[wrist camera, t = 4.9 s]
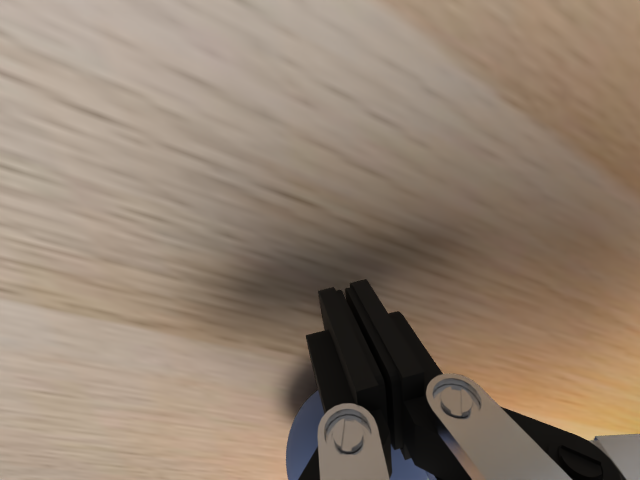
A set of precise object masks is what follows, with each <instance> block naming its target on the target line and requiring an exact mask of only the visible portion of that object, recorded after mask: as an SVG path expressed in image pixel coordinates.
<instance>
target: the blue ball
mask: <svg viewBox="0 0 640 480" xmlns="http://www.w3.org/2000/svg"><path fill="white" fill-rule="evenodd" d="M323 416H324V411H323V407H322V403H321V399H320V395H319V391H318V390H317V391H316V392H315V393H314V394H312V395H311V396H310V397H309V398H308V399H307V400H306V401H305V403H304V404H303V405H302V407H301V408H300V410H299V412H298V413H297V415H296V417H295V419H294V421H293V424H292V426H291V429H290V433H289V437H288V442H287V450H286V468H287V475H288V480H298V479H299V477H300V475H301V474H302V472H303V470H304V469H305V467H306V465H307V464H308V462H309V460H310V458H311V457H312V455H313V453H314V452H315V450H316V448H317V447H318V437H317V435H318V426H319V423H320V421H321V419H322V417H323ZM391 458H392V475H391V477H390V480H427V478H428V476H427V474H426V472H425V470H423V469H421V468H419V467H417V466H415V465H414V462H413V460H412V458H410V459H407V460H405V459H404V457H403V455H402V452H401V450H400V449H397V450H394V449H393V447H392V445H391Z"/></svg>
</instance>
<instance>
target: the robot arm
mask: <svg viewBox="0 0 640 480" xmlns="http://www.w3.org/2000/svg"><path fill="white" fill-rule="evenodd" d="M345 293H346V299H345V296H344V294H343V292H342V290H338V291H336V290H335V288H334V287H332V288H328V289H324V290H320V291H318V294H319V300H320V306H321V312H322V318H323V324H324V330H325V331H321V332H317V333H313V334H310V335H306V339H307V344H308V349H309V354H310V358H311V362H312V367H313V371H314V375H315V379H316V383H317V387H318V391H319V395H320V399H321V403H322V407H323V411H324V416H323V417H322V419H321V421H320V423H319V426H318V435H317V437H318V447H317V448H316V450H315V452H314V453H313V455H312V457H311V458H310V460H309V462H308V464H307V465H306V467H305V469H304V470H303V472H302V474H301V475H300V477H299V479H298V480H390V477H391V475H392V458H391V445H392V447H393V449H394V450H397V449H400V450H401V452H402V455H403V457H404V459H405V460H407V459H410V458H412V460H413V462H414V465H415V466H417V467H419V468H421V469H423V470H425V472H426V474H427V476H428V478H429V480H640V434H628V435H609V436H595V439H594V440H591V441H588V440H586V439H584V438H581V437H579V436H577V435H575V434H572V433H569V432H567V431H564V430H561V429H559V428H556V427H553V426H551V425H548V424H545V423H543V422H540V421H537V420H535V419H532V418H529V417H527V416H524V415H521V414H519V413H516V412H513V411H511V410H508V409H505V408H503V407H500V406H499V405H498V404H497V403H496V402H495V401H494V400H493V399H492V398H491V397H490V396H489V395H488V394H487V393H486V392H485V391H484V390H483V389H482V388H481V387H480V386H479V385H478V384H476V383H475V382H474V381H473V380H471V379H469V378H467V377H465V376H462V375H458V374H454V373H453V374H443V373H442V372H441V370H440V369H439V368H438V366H437V365H436V363H435V362H434V360H433V359H432V357H431V356H430V354H429V353H428V351H427V350H426V349H425V347H424V346H423V344H422V343H421V341H420V340H419V338H418V337H417V335H416V334H415V332H414V331H413V330H412V328H411V327H410V325H409V324H408V322H407V321H406V319H405V318H404V316H403V315H402V314H401V313H400V312H399V311H397V312H393V313H389V314H388V313H387V311H386V309H385V308H384V306H383V305H382V303H381V302H380V300H379V298H378V297H377V295H376V294H375V292H374V290H373V289H372V287H371V286H370V284H369V282H368V281H367V280H366V279H365V280H361V281H357V282H353V283H350V288H346V289H345Z"/></svg>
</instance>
